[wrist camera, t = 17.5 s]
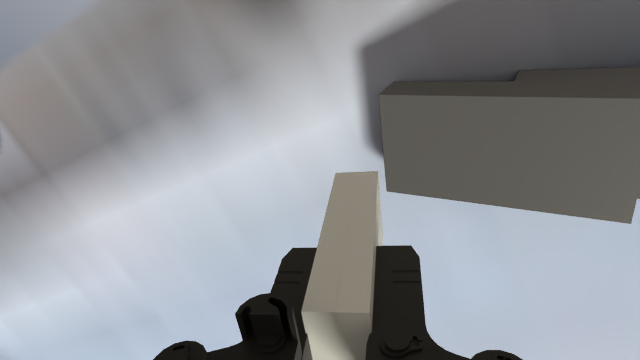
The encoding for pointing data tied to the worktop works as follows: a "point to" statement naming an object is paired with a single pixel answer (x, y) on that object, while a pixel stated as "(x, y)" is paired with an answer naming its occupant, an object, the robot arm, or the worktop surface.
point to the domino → (516, 144)
